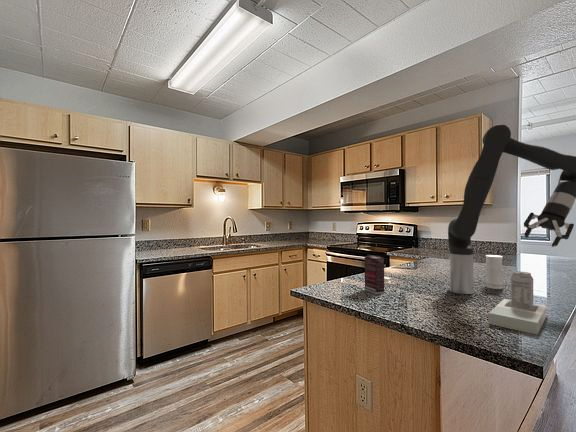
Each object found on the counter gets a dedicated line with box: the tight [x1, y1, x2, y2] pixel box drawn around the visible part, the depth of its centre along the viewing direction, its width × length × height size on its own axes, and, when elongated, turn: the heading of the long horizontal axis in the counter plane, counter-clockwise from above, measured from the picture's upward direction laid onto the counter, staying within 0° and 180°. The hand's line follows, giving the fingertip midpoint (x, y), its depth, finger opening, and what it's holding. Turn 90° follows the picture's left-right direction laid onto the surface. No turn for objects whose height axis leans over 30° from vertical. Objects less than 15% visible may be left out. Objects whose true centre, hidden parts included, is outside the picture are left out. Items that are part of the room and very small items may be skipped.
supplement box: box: [364, 255, 385, 295], centre depth 134 cm, size 9×5×16 cm, turn 22°
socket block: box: [488, 298, 548, 336], centre depth 98 cm, size 12×22×4 cm, turn 133°
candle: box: [484, 254, 504, 290], centre depth 140 cm, size 7×7×15 cm
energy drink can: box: [510, 270, 534, 311], centre depth 101 cm, size 6×6×15 cm
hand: (539, 241), depth 116 cm, fingers open, 8 cm apart
